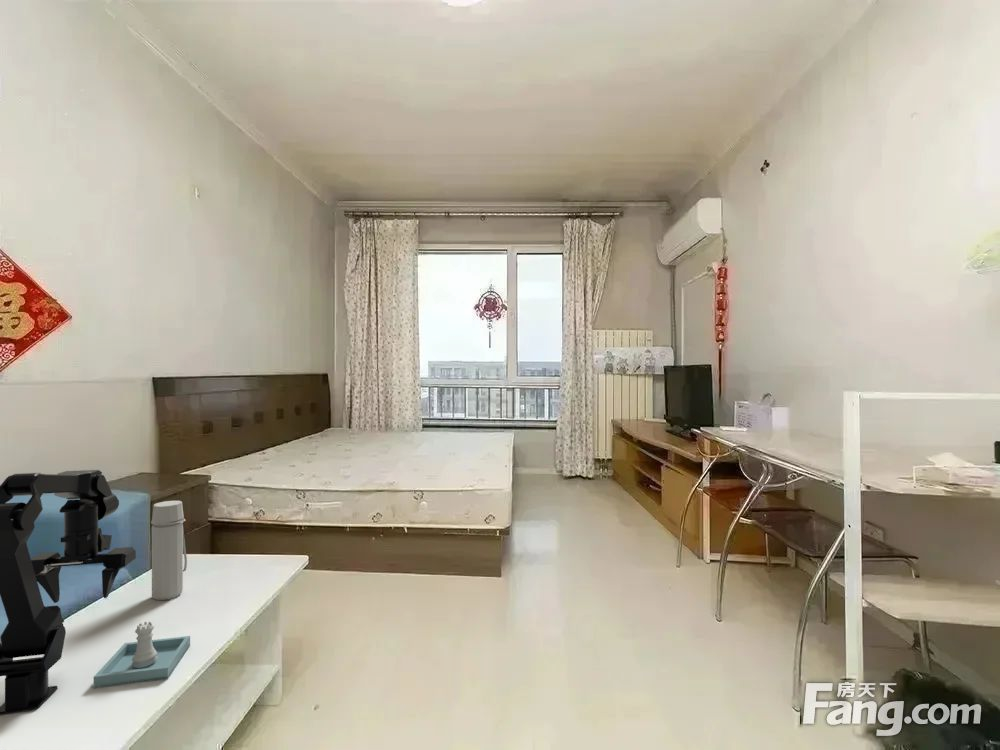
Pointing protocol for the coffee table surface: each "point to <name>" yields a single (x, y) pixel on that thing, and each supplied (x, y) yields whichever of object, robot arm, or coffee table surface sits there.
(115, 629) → the coffee table surface
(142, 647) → the rook chess piece
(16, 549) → the robot arm
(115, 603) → the coffee table surface
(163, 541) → the water bottle
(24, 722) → the coffee table surface
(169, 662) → the slate tray
